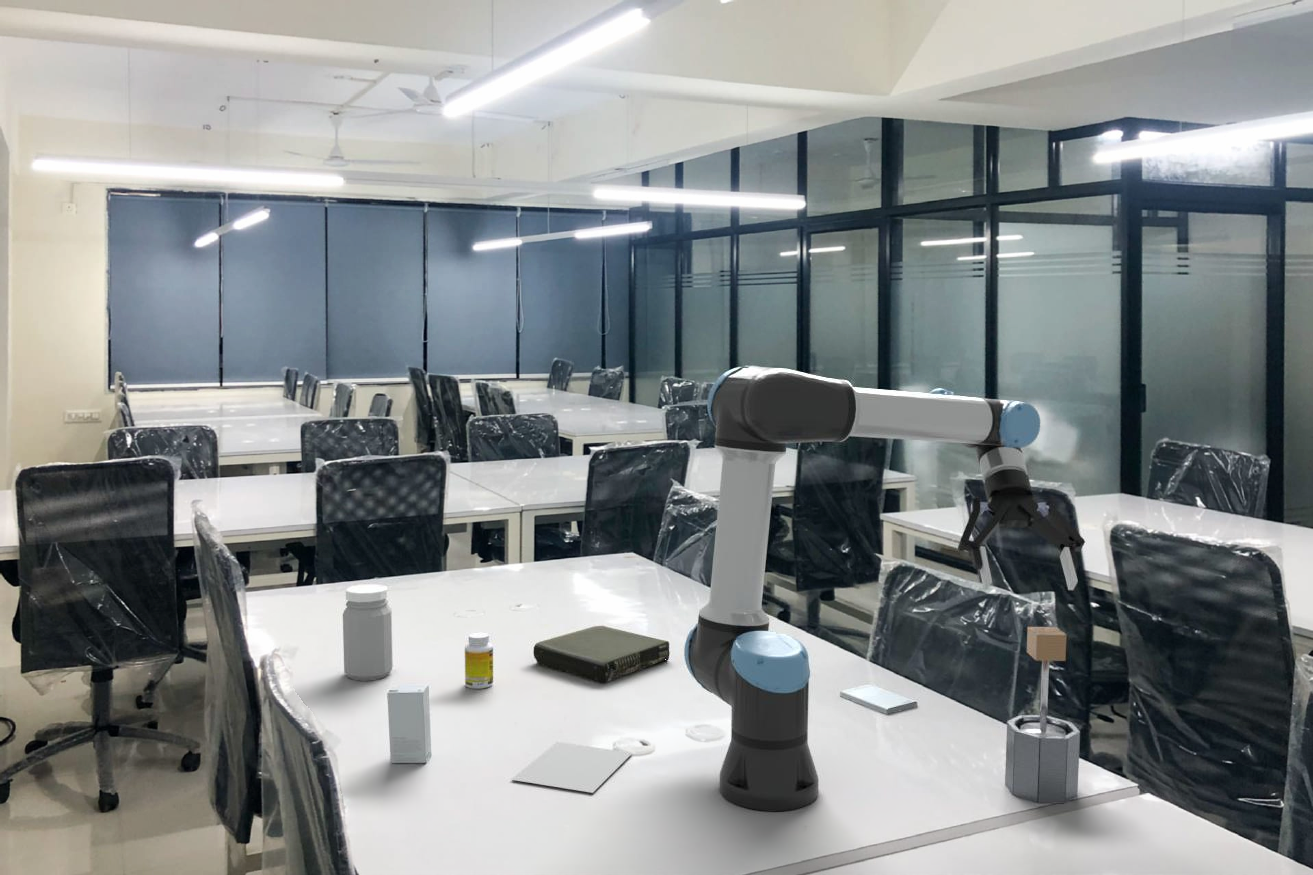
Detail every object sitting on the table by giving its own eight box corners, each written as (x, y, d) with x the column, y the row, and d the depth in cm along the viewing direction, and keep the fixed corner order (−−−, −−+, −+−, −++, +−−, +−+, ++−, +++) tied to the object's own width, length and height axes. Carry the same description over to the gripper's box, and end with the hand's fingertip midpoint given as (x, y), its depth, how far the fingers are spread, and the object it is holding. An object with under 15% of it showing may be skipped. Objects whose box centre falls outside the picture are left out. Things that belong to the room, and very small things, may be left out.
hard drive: (917, 700, 204) (870, 682, 214) (886, 708, 199) (839, 690, 209) (917, 709, 204) (870, 690, 214) (886, 717, 199) (839, 698, 209)
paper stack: (457, 775, 172) (457, 770, 172) (529, 722, 195) (529, 718, 195) (592, 796, 164) (592, 792, 164) (650, 739, 187) (650, 735, 187)
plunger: (1027, 742, 162) (1031, 636, 161) (1014, 727, 169) (1018, 624, 167) (1072, 743, 162) (1076, 636, 161) (1057, 727, 169) (1061, 625, 167)
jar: (333, 676, 220) (331, 589, 219) (371, 664, 228) (369, 580, 227) (365, 684, 215) (363, 596, 213) (403, 672, 223) (401, 586, 221)
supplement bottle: (494, 688, 213) (493, 638, 212) (465, 690, 212) (465, 639, 211) (492, 679, 218) (491, 630, 217) (464, 681, 217) (463, 632, 216)
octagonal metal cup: (1018, 802, 162) (1020, 737, 161) (999, 775, 171) (1001, 714, 170) (1084, 803, 161) (1087, 738, 160) (1061, 776, 171) (1064, 715, 170)
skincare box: (432, 754, 179) (430, 683, 178) (426, 764, 175) (424, 692, 174) (395, 753, 180) (393, 683, 178) (388, 764, 175) (386, 691, 174)
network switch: (614, 689, 214) (614, 664, 214) (523, 669, 227) (523, 645, 226) (676, 660, 234) (676, 637, 233) (589, 643, 246) (589, 621, 246)
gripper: (1072, 493, 189) (1101, 598, 176) (929, 492, 190) (947, 596, 176) (1084, 467, 183) (1116, 573, 170) (937, 466, 184) (956, 572, 171)
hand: (1030, 585), depth 173 cm, fingers open, 13 cm apart
